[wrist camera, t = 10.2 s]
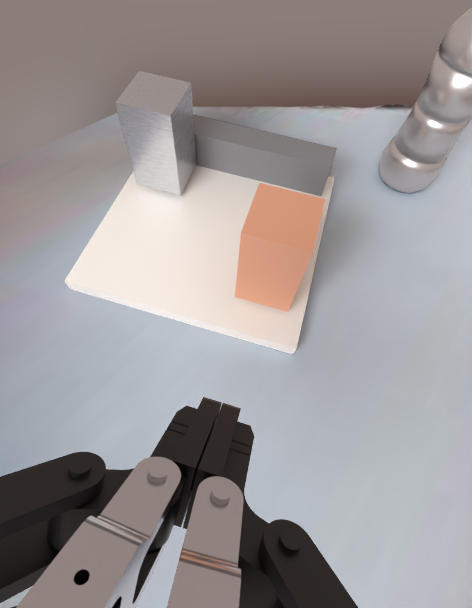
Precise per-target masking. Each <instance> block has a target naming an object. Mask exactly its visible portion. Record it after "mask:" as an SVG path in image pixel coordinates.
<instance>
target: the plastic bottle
mask: <svg viewBox="0 0 472 608" xmlns="http://www.w3.org/2000/svg"><path fill="white" fill-rule="evenodd" d="M471 119H472V8H471V9H470V10H468V11H467V12H466V13H465V14H463V15H462V16H461V17H460V18H459V19H457V20H456V21H455V22H454V23H453V25H452V26H451V27H450V28H449V30H448V31H447V32H446V34H445V35H444V37H443V39H442V42H441V44H440V46H439V49H438V51H437V54H436V57H435V59H434V62H433V65H432V67H431V70H430V72H429V75H428V77H427V80H426V83H425V84H424V87H423V89H422V91H421V93H420V95H419V98H418V100H417V101H416V103H415V105H414V107H413V110H412V111H411V113H410V114H409V116H408V118H407V119H406V121H405V122H404V124H403V125H402V127H401V129H400V130H399V132H398V133H397V135H396V136H395V137H394V138H393V139H392V140H391V142H390V143H389V144H388V146H387V147H386V149H385V150H384V152H383V154H382V157H381V161H380V164H379V171H380V175H381V178H382V180H383V181H384V182H385V183H386V184H387V185H388V186H389V187H391V188H392V189H395V190H397V191H400V192H404V193H413V192H417V191H420V190H423V189H425V188H426V187H427V186H428V185H429V184H430V183H431V182H433V181H434V180H435V179H436V178H437V176H438V174H439V172H440V171H441V169H442V167H443V165H444V163H445V160H446V158H447V156H448V154H449V152H450V151H451V149H452V147H453V146H454V144H455V142H456V141H457V139H458V137H459V136H460V134H461V132H462V131H463V129H464V128H465V127H466V126H467V124H468V123H469V121H470V120H471Z"/></svg>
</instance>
